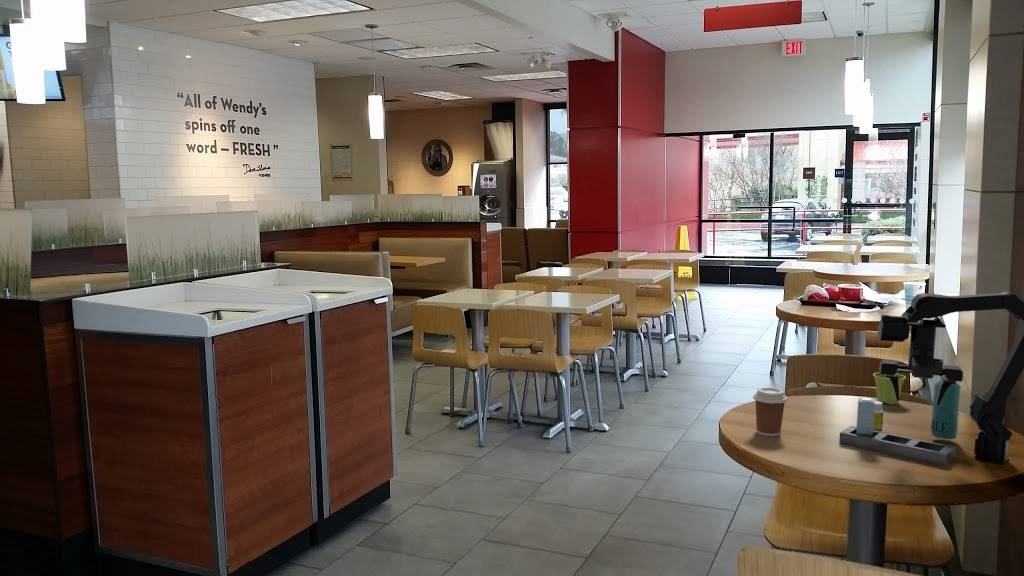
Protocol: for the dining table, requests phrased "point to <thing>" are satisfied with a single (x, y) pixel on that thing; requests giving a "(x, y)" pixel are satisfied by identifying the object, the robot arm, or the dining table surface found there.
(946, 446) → the grey slotted rack
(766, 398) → the coffee cup
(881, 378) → the plant pot
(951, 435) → the beverage bottle
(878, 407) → the supplement bottle
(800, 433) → the dining table surface
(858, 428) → the light blue tall block
